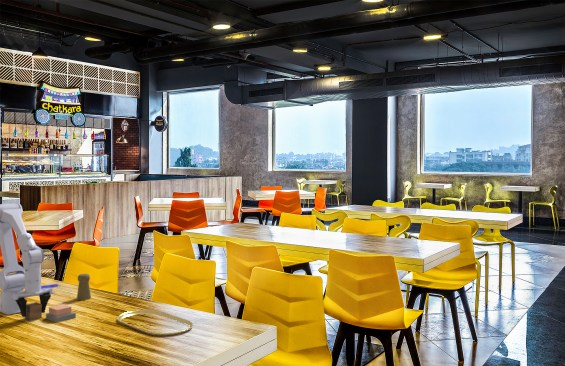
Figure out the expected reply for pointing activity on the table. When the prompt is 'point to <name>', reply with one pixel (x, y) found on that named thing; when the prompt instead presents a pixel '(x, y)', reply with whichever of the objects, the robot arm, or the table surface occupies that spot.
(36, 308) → the walnut block
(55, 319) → the gray slab
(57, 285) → the booklet
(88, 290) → the taupe pawn
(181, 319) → the serving platter
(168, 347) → the table surface
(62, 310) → the terracotta cap
